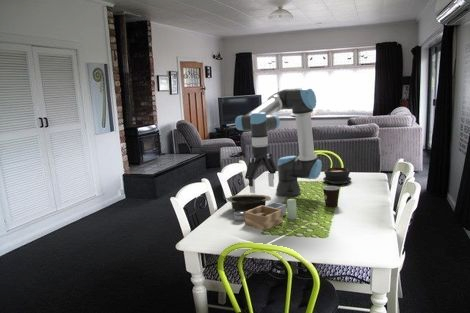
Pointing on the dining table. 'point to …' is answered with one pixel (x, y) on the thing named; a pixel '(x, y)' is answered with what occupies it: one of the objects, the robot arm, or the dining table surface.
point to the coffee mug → (331, 196)
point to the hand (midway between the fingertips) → (262, 189)
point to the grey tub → (278, 207)
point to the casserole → (337, 175)
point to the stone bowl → (247, 201)
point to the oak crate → (263, 217)
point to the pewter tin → (239, 216)
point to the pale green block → (291, 208)
